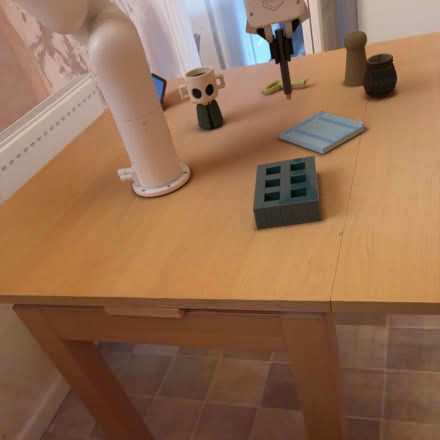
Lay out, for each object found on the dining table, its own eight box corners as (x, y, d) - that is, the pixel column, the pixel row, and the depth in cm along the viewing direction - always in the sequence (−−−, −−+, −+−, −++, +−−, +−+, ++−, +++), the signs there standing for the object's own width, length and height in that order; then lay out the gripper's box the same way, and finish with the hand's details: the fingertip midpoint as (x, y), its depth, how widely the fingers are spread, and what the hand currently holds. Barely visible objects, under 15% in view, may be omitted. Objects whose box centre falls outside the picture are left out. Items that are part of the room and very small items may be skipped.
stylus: (285, 101, 95) (274, 31, 86) (285, 98, 96) (274, 29, 88) (293, 99, 95) (282, 29, 86) (293, 96, 96) (282, 27, 87)
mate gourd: (392, 85, 109) (392, 39, 103) (401, 97, 104) (402, 48, 97) (360, 92, 111) (359, 47, 104) (367, 104, 105) (366, 57, 98)
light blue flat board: (367, 129, 96) (367, 123, 96) (323, 154, 93) (322, 148, 92) (321, 116, 106) (321, 110, 105) (280, 138, 102) (279, 133, 102)
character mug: (191, 136, 115) (176, 83, 106) (190, 126, 120) (175, 73, 112) (235, 124, 114) (222, 69, 106) (231, 114, 120) (219, 60, 111)
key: (307, 89, 120) (306, 80, 118) (261, 95, 124) (259, 87, 123) (312, 78, 124) (311, 70, 123) (267, 84, 129) (265, 76, 128)
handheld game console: (127, 110, 141) (118, 85, 136) (159, 97, 143) (151, 71, 138) (140, 120, 132) (131, 94, 127) (174, 106, 134) (167, 79, 129)
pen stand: (257, 229, 80) (252, 209, 77) (260, 183, 90) (257, 164, 88) (321, 220, 77) (318, 199, 75) (316, 174, 88) (314, 155, 85)
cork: (373, 75, 116) (372, 27, 109) (364, 86, 113) (363, 36, 106) (349, 76, 119) (347, 29, 112) (340, 86, 116) (337, 38, 109)
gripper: (218, -37, 78) (242, 76, 90) (314, -65, 74) (326, 57, 86) (222, -45, 83) (244, 63, 95) (312, -71, 79) (323, 45, 91)
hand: (283, 60), depth 90 cm, fingers closed on stylus, 1 cm apart
